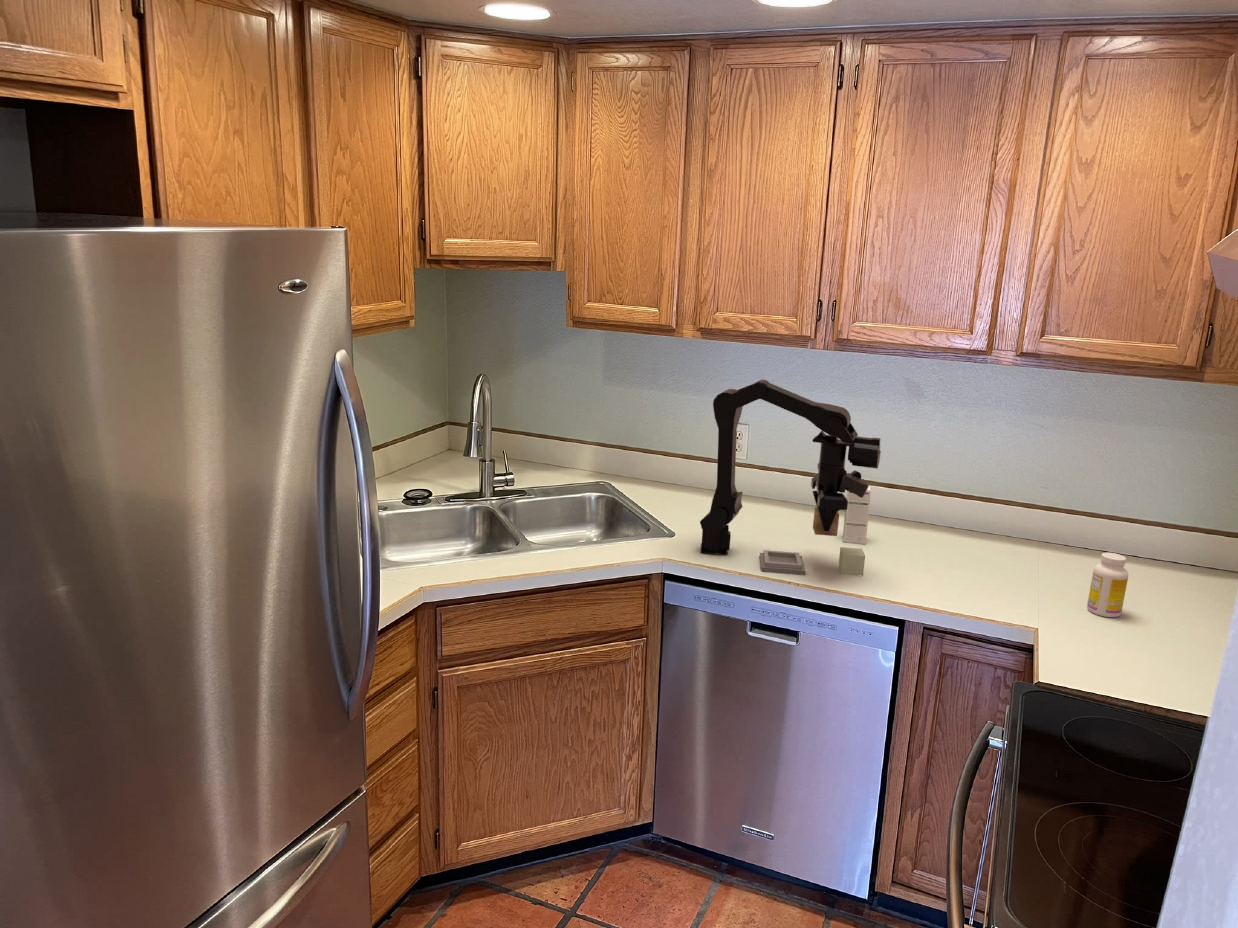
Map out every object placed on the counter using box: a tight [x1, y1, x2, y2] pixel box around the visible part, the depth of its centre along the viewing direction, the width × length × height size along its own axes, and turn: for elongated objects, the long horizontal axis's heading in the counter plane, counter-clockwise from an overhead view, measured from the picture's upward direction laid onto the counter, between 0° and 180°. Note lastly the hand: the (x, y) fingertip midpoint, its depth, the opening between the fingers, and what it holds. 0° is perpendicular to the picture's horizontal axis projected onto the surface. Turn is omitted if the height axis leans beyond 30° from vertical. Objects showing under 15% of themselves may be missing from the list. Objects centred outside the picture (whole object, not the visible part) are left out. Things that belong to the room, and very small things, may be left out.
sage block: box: [837, 546, 866, 577], centre depth 214 cm, size 5×5×5 cm
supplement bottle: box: [1086, 552, 1129, 618], centre depth 196 cm, size 7×7×13 cm
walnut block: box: [812, 506, 840, 537], centre depth 212 cm, size 5×5×5 cm
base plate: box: [759, 549, 806, 576], centre depth 216 cm, size 10×10×2 cm
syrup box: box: [842, 484, 872, 545], centre depth 234 cm, size 6×6×14 cm
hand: (825, 527), depth 212 cm, fingers closed on walnut block, 5 cm apart
